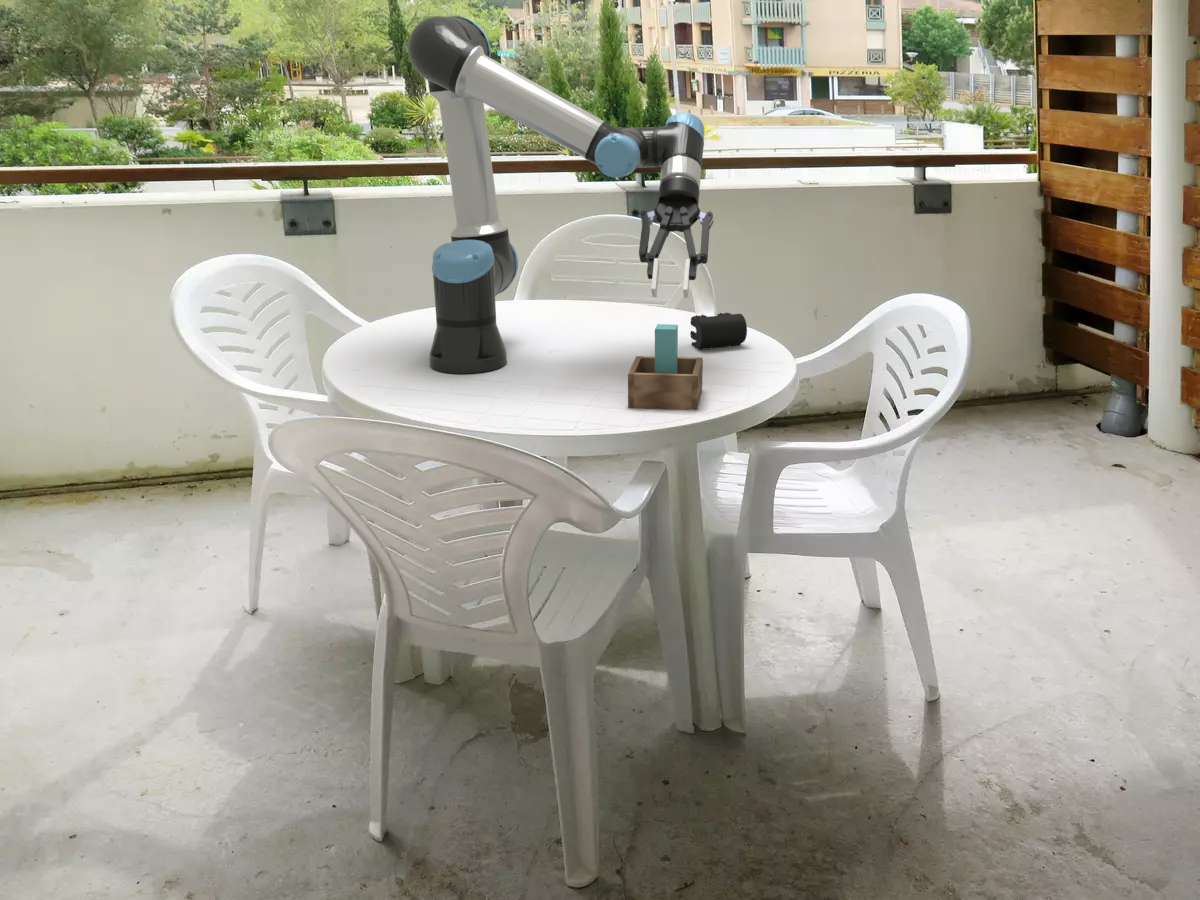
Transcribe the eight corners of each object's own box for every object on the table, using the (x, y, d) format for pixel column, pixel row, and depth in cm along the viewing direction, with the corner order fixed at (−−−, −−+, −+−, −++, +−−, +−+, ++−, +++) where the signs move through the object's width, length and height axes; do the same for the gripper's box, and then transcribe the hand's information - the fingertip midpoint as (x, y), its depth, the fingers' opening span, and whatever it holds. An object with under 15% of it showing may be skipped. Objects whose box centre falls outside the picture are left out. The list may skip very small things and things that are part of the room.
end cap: (701, 353, 236) (702, 321, 234) (688, 345, 243) (688, 313, 240) (747, 349, 239) (747, 316, 237) (732, 341, 246) (733, 309, 243)
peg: (654, 401, 206) (654, 329, 202) (657, 395, 209) (657, 324, 205) (675, 401, 206) (675, 329, 201) (677, 395, 209) (677, 324, 204)
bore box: (628, 407, 203) (627, 374, 201) (636, 387, 214) (636, 356, 212) (697, 409, 201) (697, 376, 199) (702, 389, 212) (702, 357, 210)
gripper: (728, 200, 220) (720, 305, 211) (633, 199, 223) (621, 303, 213) (727, 175, 214) (719, 282, 204) (629, 174, 216) (617, 280, 207)
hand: (669, 293), depth 209 cm, fingers open, 5 cm apart
